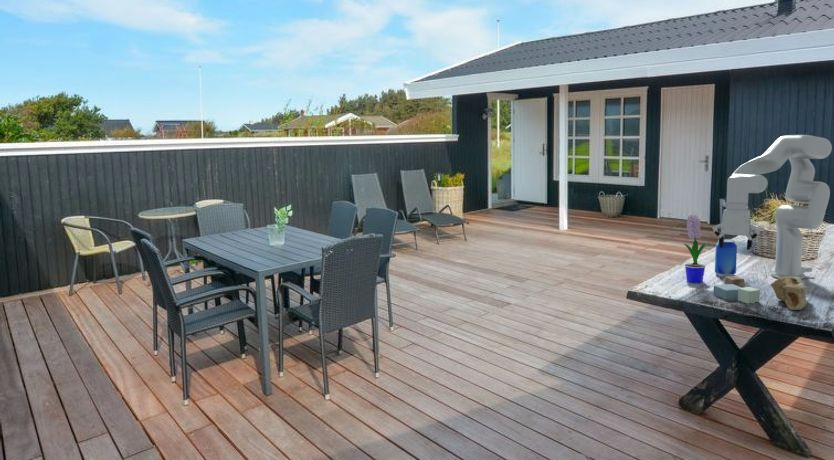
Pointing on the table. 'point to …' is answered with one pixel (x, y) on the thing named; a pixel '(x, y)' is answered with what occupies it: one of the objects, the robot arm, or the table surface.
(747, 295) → the sage cube
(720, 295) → the base block
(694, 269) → the hyacinth
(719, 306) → the table surface
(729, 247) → the beer can
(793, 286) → the stone
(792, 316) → the table surface
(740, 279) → the walnut cube
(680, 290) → the table surface
